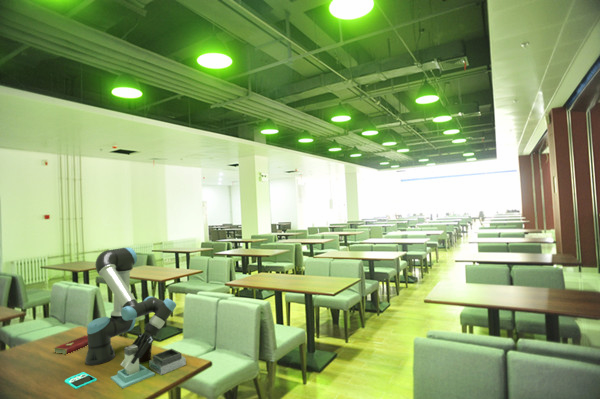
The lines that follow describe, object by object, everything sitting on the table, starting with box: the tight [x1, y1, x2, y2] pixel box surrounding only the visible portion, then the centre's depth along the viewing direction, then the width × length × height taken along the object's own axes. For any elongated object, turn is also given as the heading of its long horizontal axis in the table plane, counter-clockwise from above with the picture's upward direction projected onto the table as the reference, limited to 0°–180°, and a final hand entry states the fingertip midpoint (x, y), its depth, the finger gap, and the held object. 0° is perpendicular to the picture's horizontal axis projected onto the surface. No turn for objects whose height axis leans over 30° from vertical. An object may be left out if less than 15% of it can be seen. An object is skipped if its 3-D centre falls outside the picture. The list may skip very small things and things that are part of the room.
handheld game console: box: [64, 371, 98, 390], centre depth 178 cm, size 10×16×1 cm, turn 54°
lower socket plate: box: [110, 363, 156, 389], centre depth 178 cm, size 16×16×4 cm
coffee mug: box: [139, 342, 153, 364], centre depth 199 cm, size 12×9×10 cm
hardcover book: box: [53, 334, 88, 355], centre depth 225 cm, size 12×21×4 cm, turn 157°
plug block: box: [123, 344, 140, 375], centre depth 178 cm, size 5×5×13 cm
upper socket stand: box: [148, 348, 187, 376], centre depth 188 cm, size 14×14×6 cm
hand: (124, 367), depth 176 cm, fingers closed on plug block, 5 cm apart
